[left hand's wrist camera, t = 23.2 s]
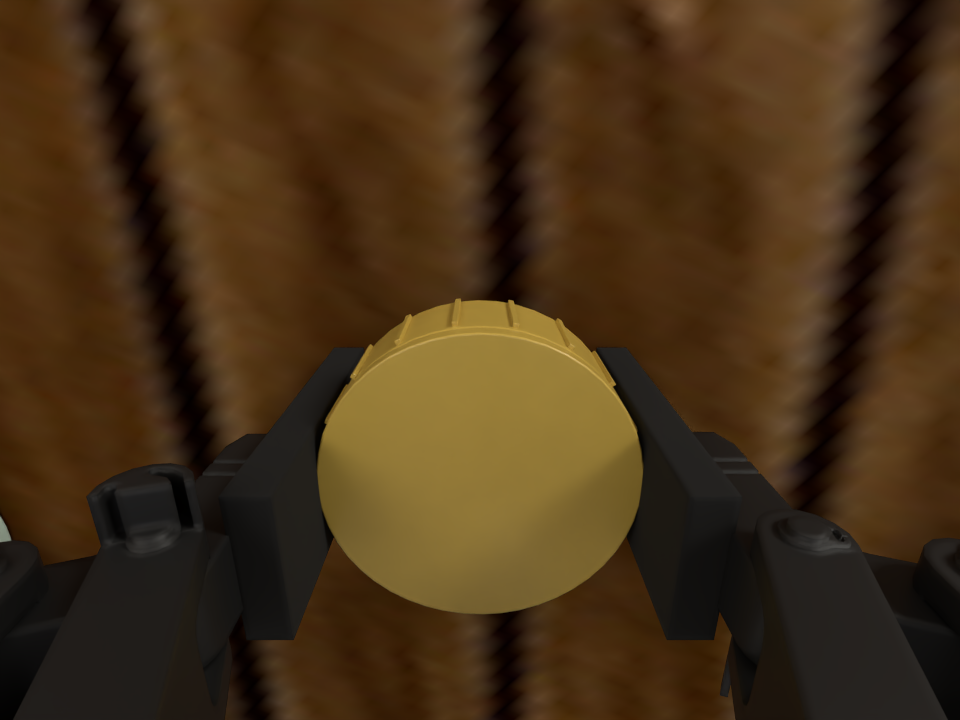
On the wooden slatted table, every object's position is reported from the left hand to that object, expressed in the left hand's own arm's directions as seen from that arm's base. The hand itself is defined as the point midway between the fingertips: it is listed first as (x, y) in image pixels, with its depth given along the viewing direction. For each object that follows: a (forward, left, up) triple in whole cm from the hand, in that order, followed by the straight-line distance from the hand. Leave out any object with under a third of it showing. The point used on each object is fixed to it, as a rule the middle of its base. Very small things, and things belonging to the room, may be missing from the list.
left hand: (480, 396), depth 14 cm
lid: (0, 0, +4) cm, 4 cm away
